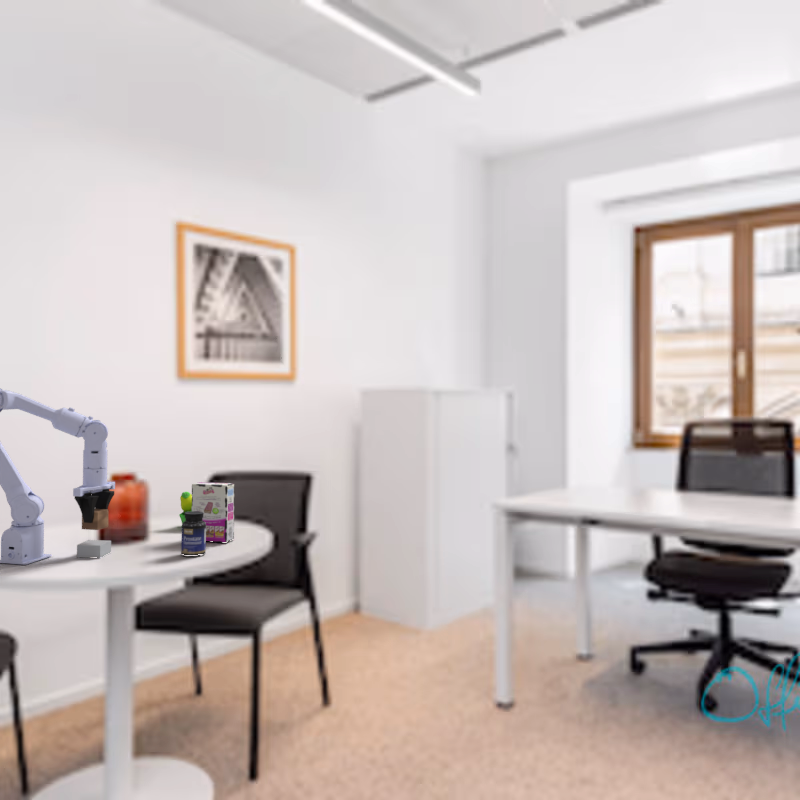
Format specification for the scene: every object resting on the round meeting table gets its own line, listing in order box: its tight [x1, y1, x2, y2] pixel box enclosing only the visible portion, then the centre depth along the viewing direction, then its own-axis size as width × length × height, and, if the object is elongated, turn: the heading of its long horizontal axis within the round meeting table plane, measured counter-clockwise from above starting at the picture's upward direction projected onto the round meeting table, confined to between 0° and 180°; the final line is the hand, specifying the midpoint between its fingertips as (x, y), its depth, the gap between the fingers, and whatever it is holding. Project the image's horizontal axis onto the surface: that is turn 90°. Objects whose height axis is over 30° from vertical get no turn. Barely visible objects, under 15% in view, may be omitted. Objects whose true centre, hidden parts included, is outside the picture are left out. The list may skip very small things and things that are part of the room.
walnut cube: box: [81, 508, 109, 531], centre depth 181 cm, size 4×4×4 cm
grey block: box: [76, 539, 112, 559], centre depth 181 cm, size 6×6×4 cm
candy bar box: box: [191, 481, 235, 543], centre depth 200 cm, size 11×5×16 cm, turn 76°
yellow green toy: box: [178, 491, 192, 524], centre depth 219 cm, size 11×9×11 cm
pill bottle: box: [180, 511, 207, 555], centre depth 183 cm, size 6×6×11 cm
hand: (94, 520), depth 181 cm, fingers closed on walnut cube, 4 cm apart
